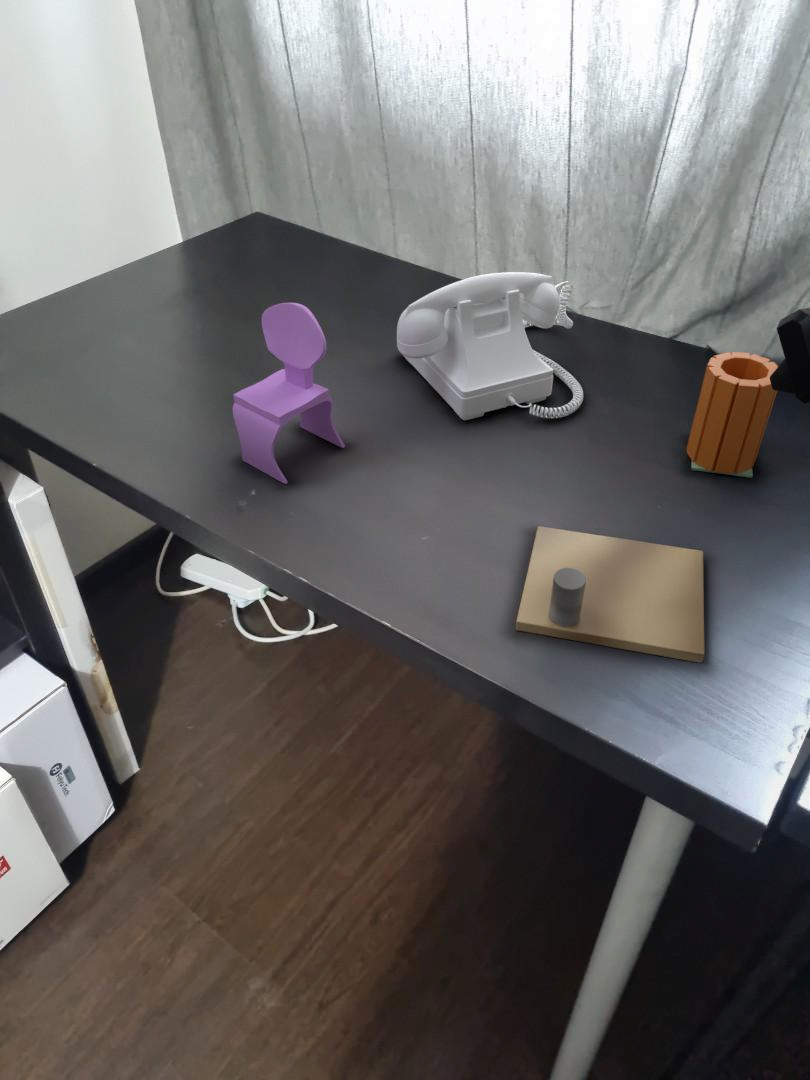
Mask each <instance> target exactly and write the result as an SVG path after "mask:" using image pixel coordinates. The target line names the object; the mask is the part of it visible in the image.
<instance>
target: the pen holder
mask: <svg viewBox="0 0 810 1080" xmlns="http://www.w3.org/2000/svg"><path fill="white" fill-rule="evenodd" d="M778 366H779V365H778V364H777V363H776V362H775V361H771V359H769V358H766V357H764V356H761V355H759V354H757V353H753V354H751V353H750V352H741V351H731V352H728V351H726V352H723V353H719V354H716V355H713V356H712V357H710V359H709V361H708V363H707V364H706V367H705V368H706V369H705V372H704V377H703V381H702V385H701V389H700V392H699V397H698V401H697V405H696V407H695V408H696V409H695V413H694V416H693V421H692V425H691V429H690V433H689V437H688V441H687V444H686V449H685V450H686V454H687V455H688V457H689V458H690V460H692V461H693V462H696V465H698V466H700V467H703V468H705V469H707V470H709V471H712V470H714V469H715V472H716V473H715V474H720V473H727V474H733V473H734V472H736V473H740V472H743V471H746V470H749V469H750V468H751V467H752V468H754V465H755V463H756V459H757V457H758V453H759V451H760V447H761V444H762V442H763V441H762V440H763V437H764V434H765V432H766V428H767V425H768V422H769V419H770V415H771V412H772V409H773V406H774V403H775V400H776V397H777V394H778V391H777V390H773V389H772V386H771V382H770V376H771V375H772V374H773V372H774V371H775V370H776V369H777V367H778ZM727 474H726V475H727Z"/></svg>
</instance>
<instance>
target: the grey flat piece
mask: <svg viewBox="0 0 810 1080" xmlns="http://www.w3.org/2000/svg"><path fill="white" fill-rule="evenodd" d="M690 460H691V459H690ZM690 463H691V467H690V468H691V470H692V471H697V472H698V471H699V472H706V473H712V474H717V473H716V472H715V469H714V470H712V471H709V470H707V469H705V468H703V467H700V466H698V465H696V462H693V461H692V460H691V462H690ZM719 474H721V475H727V476H735V477H743V478H750V479H752V478H753V476H754V474H753V467H751V468H750V469H749V470H746V471H743V472H740V473H736V472H734V473H733V474H727V473H719Z"/></svg>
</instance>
